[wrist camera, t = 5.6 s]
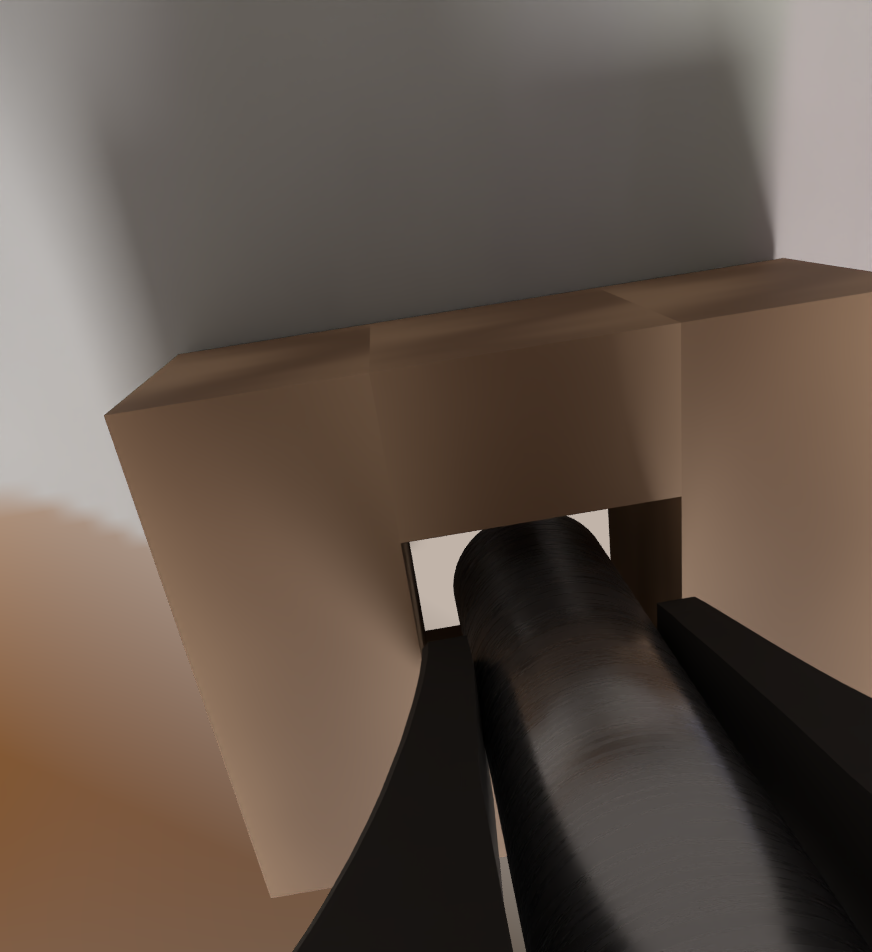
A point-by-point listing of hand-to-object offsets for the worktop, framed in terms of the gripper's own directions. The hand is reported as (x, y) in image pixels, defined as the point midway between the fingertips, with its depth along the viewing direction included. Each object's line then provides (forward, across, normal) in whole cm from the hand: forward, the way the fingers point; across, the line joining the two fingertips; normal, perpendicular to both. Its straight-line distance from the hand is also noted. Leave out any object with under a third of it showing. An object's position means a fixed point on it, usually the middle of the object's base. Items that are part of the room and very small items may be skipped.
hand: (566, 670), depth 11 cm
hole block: (+5, 0, 0) cm, 5 cm away
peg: (+3, 0, 0) cm, 3 cm away
